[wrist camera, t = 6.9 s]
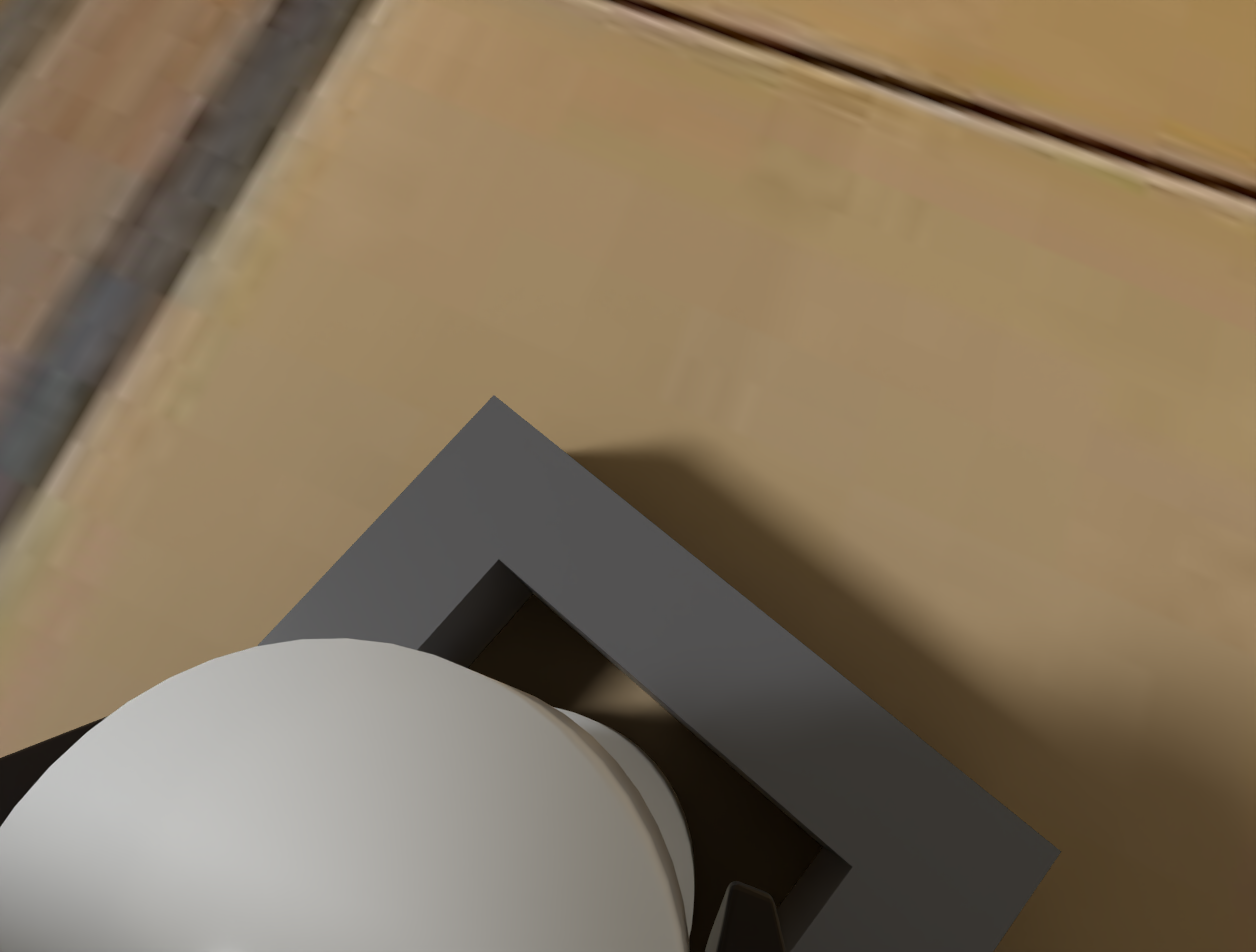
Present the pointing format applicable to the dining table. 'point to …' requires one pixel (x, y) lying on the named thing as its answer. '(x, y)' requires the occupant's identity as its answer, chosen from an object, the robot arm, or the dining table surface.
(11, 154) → the dining table surface
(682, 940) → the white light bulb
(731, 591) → the socket block
